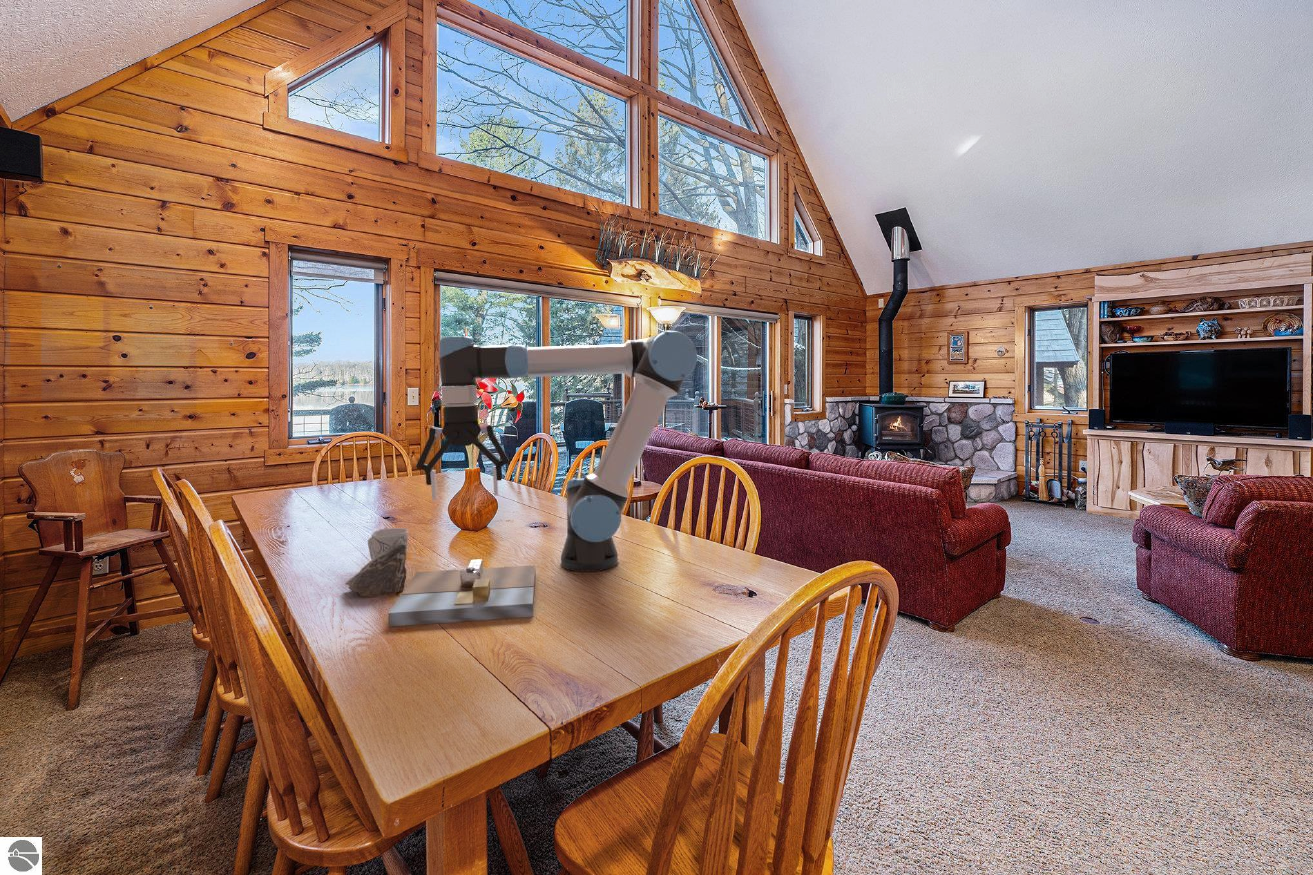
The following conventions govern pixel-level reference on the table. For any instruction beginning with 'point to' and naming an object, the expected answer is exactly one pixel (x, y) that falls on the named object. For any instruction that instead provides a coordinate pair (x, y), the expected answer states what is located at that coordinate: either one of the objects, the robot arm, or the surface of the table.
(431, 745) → the table surface
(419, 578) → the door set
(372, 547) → the mug
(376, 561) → the rock
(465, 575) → the latch bar
